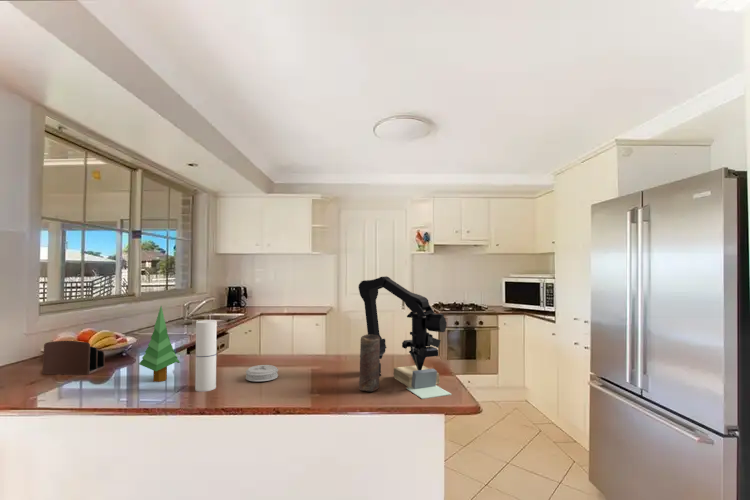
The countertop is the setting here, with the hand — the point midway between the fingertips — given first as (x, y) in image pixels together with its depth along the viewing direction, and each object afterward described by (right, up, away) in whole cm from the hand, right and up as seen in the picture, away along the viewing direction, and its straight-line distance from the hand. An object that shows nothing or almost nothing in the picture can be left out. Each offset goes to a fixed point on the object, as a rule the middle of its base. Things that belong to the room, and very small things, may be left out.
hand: (419, 370), depth 155 cm
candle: (-19, -6, -6) cm, 21 cm away
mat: (+2, -6, -8) cm, 10 cm away
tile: (+1, -2, -2) cm, 3 cm away
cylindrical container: (-81, -6, -4) cm, 81 cm away
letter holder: (-147, -6, +19) cm, 148 cm away
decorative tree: (-103, -6, +6) cm, 103 cm away
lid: (-63, -6, +8) cm, 64 cm away
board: (-1, -6, +6) cm, 8 cm away
